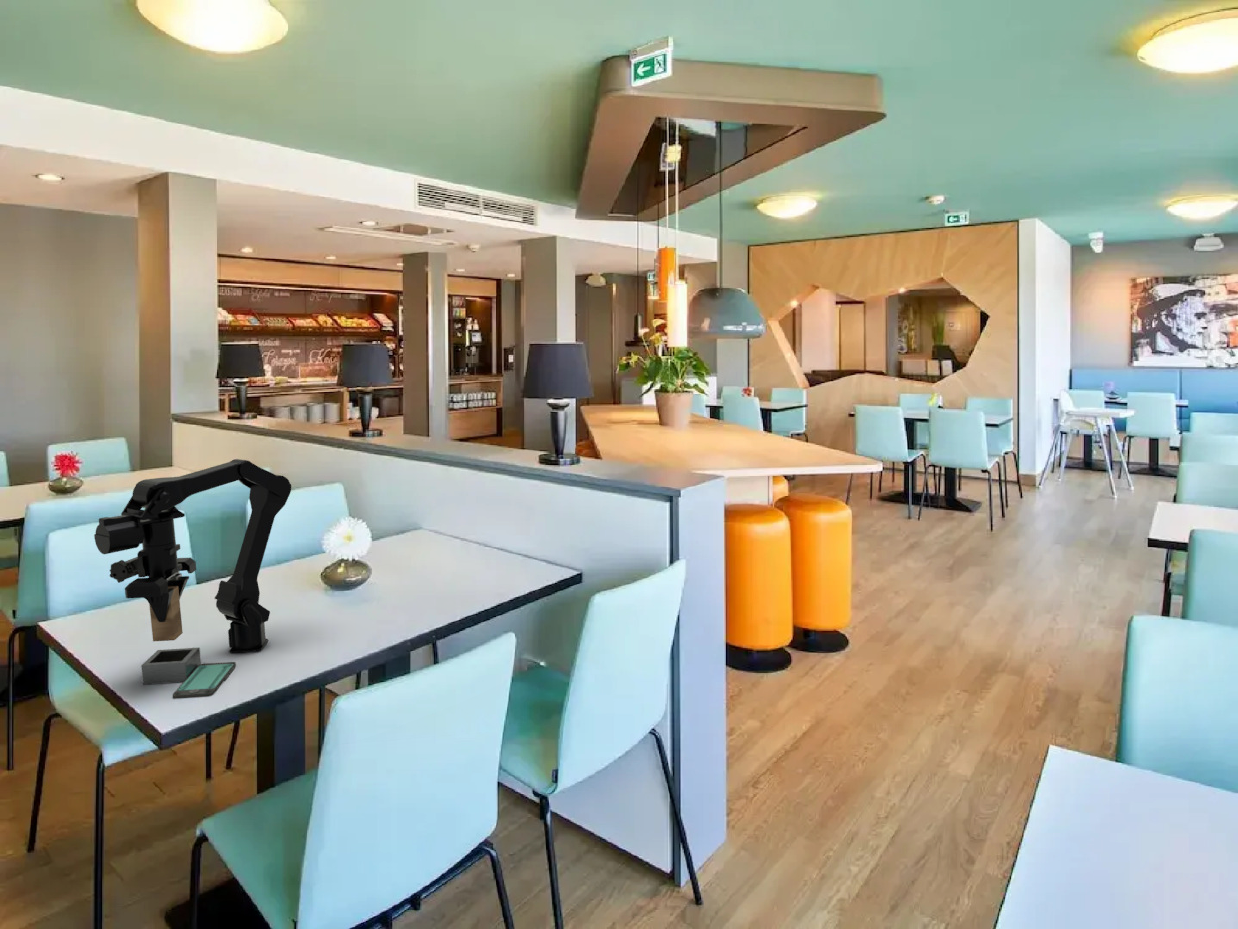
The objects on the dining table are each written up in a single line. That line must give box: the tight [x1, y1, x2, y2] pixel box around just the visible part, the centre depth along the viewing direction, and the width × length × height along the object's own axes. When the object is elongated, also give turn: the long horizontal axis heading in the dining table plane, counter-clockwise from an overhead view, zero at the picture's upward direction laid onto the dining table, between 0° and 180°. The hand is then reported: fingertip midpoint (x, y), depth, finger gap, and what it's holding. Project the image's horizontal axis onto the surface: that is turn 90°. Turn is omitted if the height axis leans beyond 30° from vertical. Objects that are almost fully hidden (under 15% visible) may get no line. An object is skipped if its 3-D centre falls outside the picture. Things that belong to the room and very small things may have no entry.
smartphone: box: [172, 661, 237, 700], centre depth 155 cm, size 7×1×15 cm
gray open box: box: [140, 647, 202, 686], centre depth 157 cm, size 8×8×4 cm
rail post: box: [148, 586, 184, 642], centre depth 156 cm, size 4×4×10 cm
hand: (166, 618), depth 156 cm, fingers closed on rail post, 4 cm apart
